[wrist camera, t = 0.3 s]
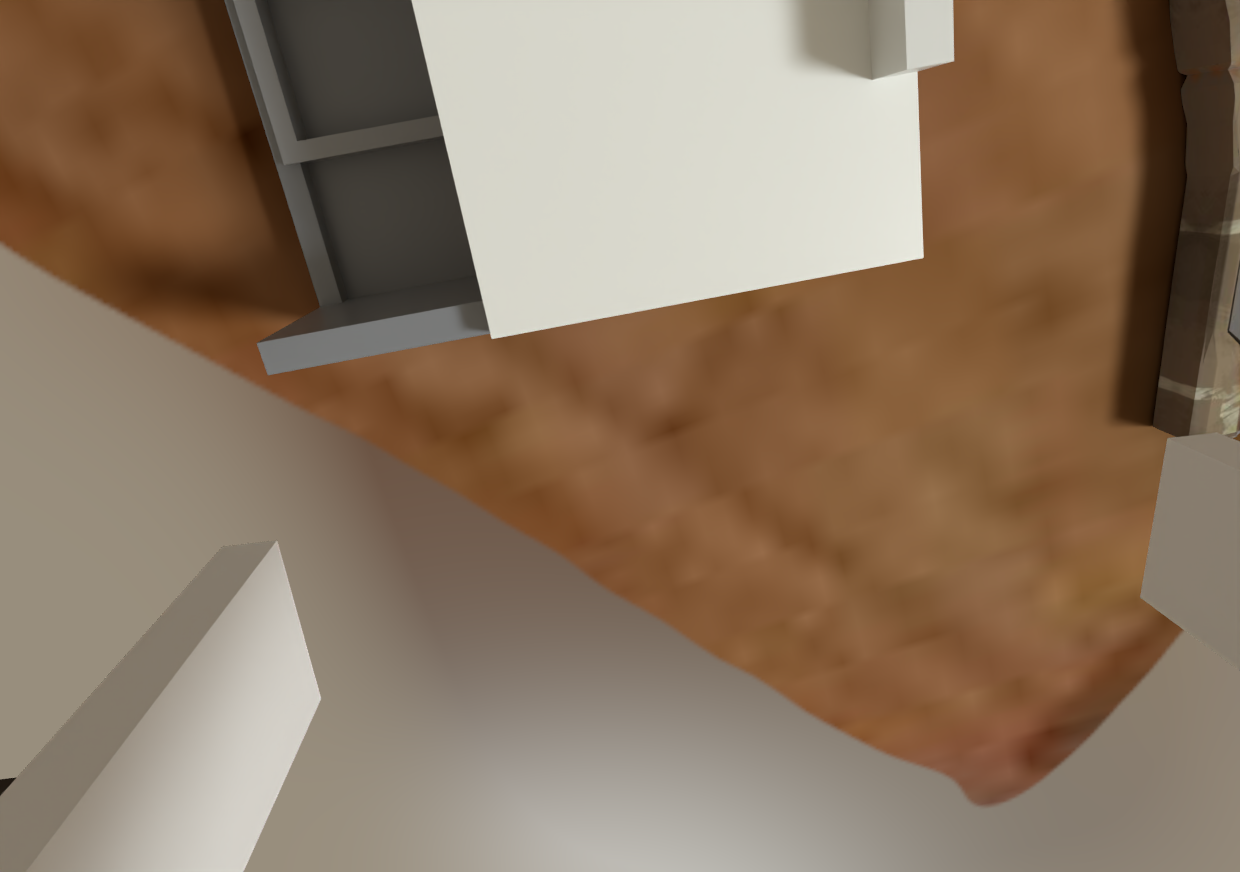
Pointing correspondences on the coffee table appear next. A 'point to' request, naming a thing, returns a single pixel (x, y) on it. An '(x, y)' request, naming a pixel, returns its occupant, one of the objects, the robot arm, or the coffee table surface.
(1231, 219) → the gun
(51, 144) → the coffee table surface
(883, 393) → the coffee table surface
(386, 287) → the housing
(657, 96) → the lid
